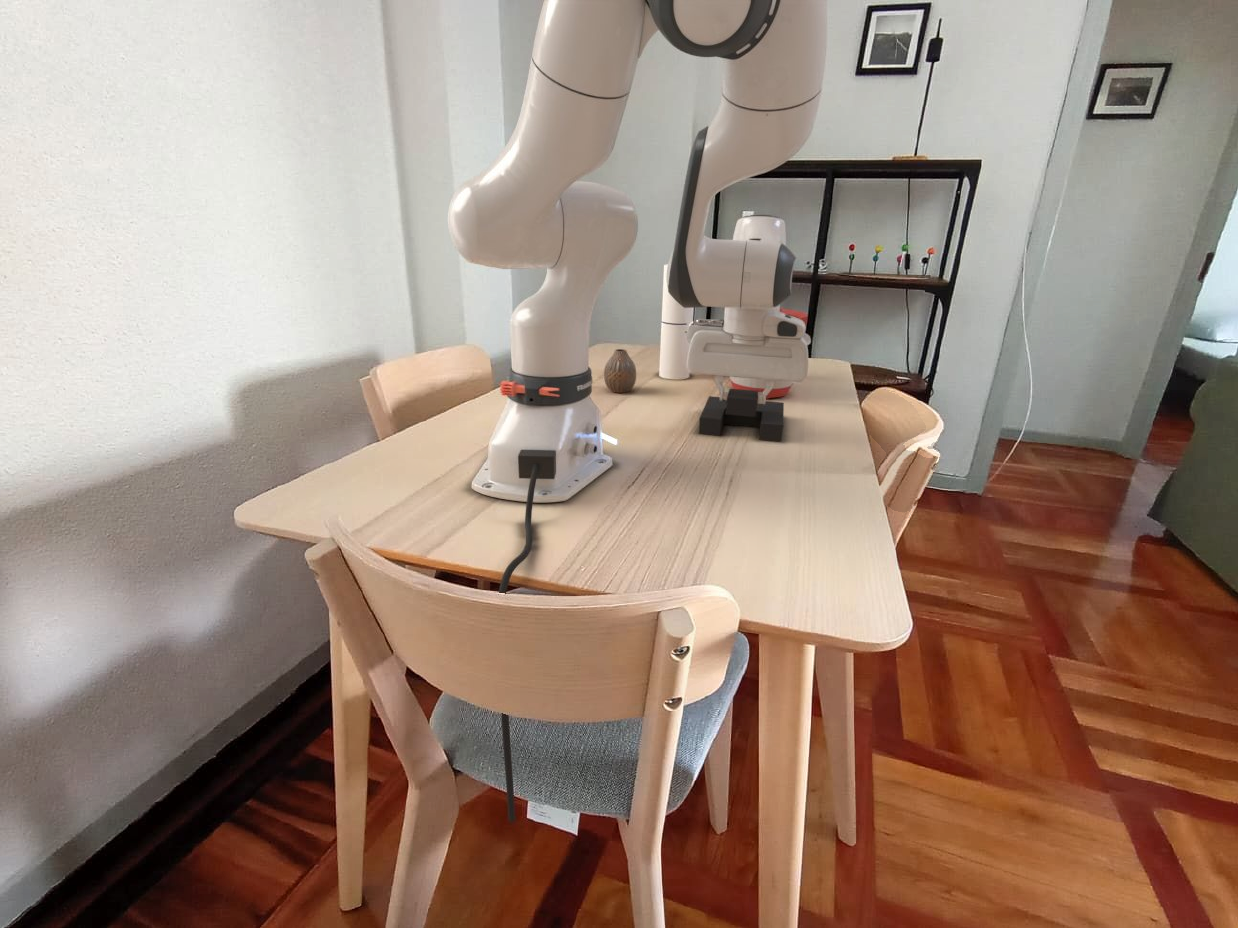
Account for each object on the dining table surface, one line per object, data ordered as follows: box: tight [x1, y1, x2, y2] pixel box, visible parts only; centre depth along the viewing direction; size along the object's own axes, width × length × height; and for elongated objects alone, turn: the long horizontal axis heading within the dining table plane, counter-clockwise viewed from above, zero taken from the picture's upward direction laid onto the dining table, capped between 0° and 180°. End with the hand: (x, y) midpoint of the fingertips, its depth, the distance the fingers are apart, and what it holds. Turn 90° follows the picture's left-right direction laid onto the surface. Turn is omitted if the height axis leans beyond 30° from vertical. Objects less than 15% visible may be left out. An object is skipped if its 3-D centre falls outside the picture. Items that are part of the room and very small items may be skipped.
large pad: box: [698, 395, 785, 443], centre depth 110 cm, size 14×14×3 cm
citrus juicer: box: [729, 307, 812, 400], centre depth 128 cm, size 16×17×20 cm
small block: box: [726, 388, 758, 417], centre depth 106 cm, size 6×5×3 cm
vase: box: [603, 348, 637, 394], centre depth 129 cm, size 7×7×9 cm
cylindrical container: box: [658, 263, 695, 381], centre depth 140 cm, size 7×7×25 cm
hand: (742, 402), depth 106 cm, fingers closed on small block, 5 cm apart
